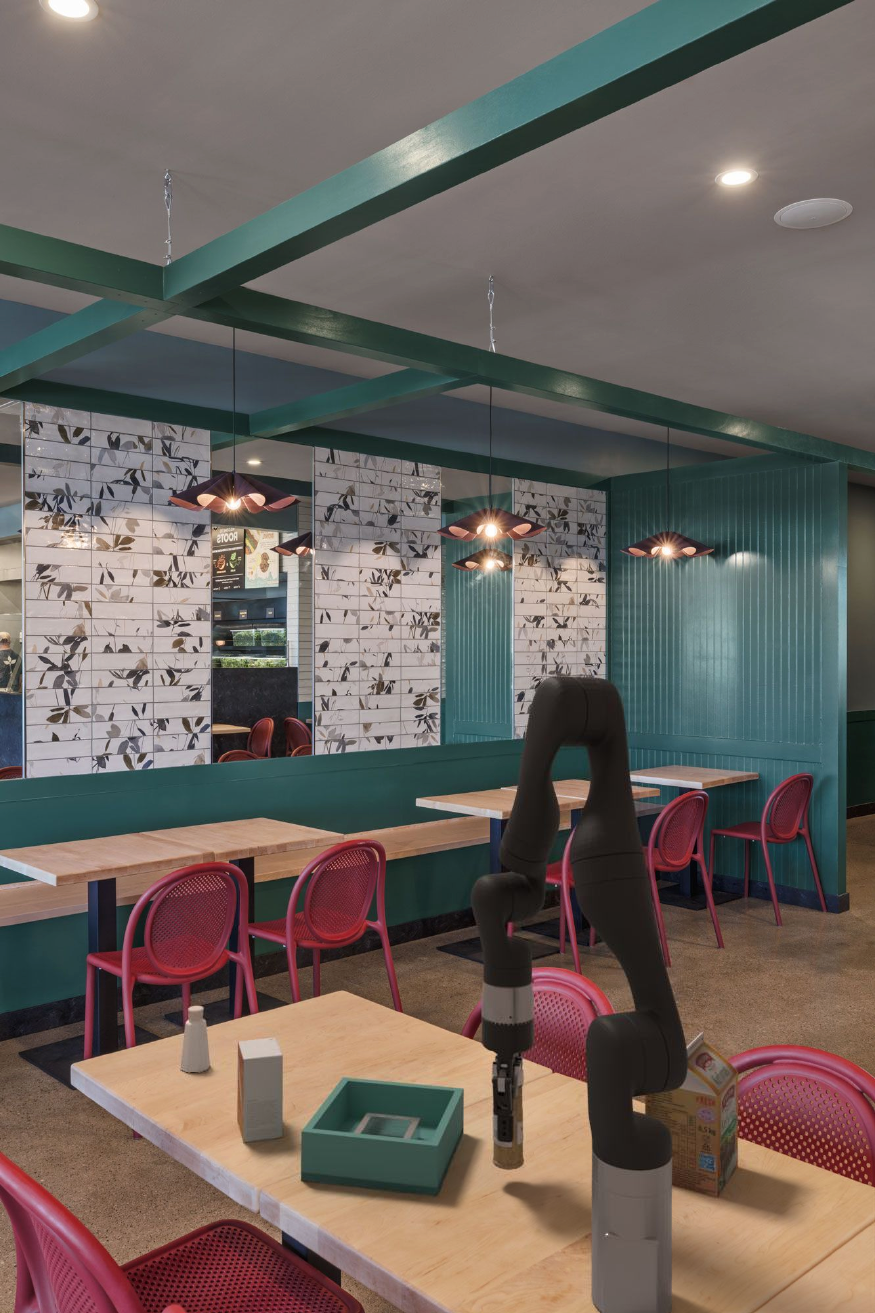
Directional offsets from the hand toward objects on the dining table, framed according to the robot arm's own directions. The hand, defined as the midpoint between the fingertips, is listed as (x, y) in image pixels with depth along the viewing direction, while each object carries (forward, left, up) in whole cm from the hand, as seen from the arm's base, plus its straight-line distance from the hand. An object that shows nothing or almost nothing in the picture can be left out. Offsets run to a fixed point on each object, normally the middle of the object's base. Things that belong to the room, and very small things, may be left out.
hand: (507, 1132), depth 146 cm
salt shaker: (+29, +62, -7) cm, 69 cm away
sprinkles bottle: (0, 0, -5) cm, 5 cm away
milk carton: (+9, -26, -7) cm, 29 cm away
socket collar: (+4, +19, -6) cm, 21 cm away
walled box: (+4, +19, -7) cm, 21 cm away
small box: (+8, +41, -7) cm, 43 cm away
